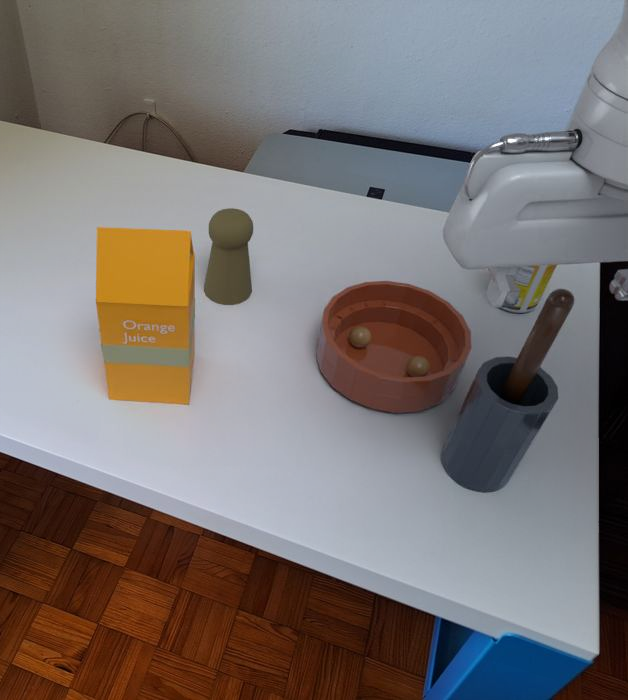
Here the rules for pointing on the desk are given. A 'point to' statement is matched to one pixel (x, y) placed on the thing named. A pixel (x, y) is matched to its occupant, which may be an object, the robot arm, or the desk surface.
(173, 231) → the orange juice
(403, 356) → the bowl
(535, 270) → the supplement bottle
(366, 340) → the bead
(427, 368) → the bead
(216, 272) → the olive game pawn
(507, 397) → the stir paddle
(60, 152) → the desk surface
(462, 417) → the crock
